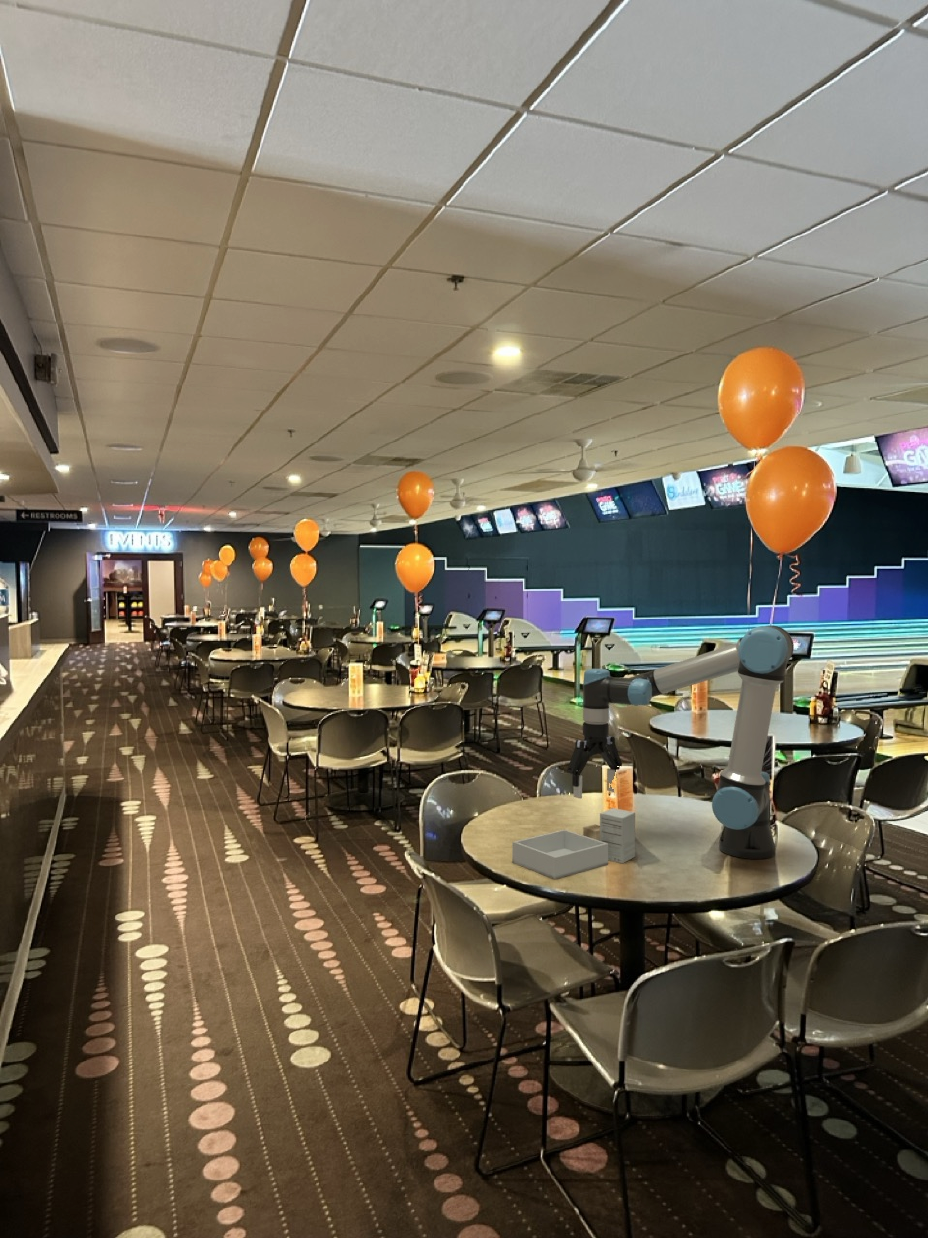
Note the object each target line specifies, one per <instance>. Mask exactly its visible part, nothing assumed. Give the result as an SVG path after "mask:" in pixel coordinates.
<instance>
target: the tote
mask: <svg viewBox="0 0 928 1238" xmlns="http://www.w3.org/2000/svg"><path fill="white" fill-rule="evenodd" d="M511 848H512V853H511V855H512V861H511V863H512V864H515V865H518V866H521V867H523V868H524V869H528V870H530V871H532V872H535V873H538V874H539V875H542V876H545V877H548V878H549V879H550V878H551V879H553V880H559V879H562V878H565V877H570V876H572V875H577V874H579V873H583V872H586V871H589V870H593V869H596V868H600V867H604V866H608V865H609V860H608V843H605V842H602V841H598V840H595V839H592V838H589V837H586V836H583V834H579V833H577V832H574V831H571V830H567V829H561V830H557V831H553V832H548V833H545V834H540V835H539V834H538V835H536V836H532V837H527V838H523V839H519V840H516V841H514V840H513V841H512V846H511Z"/></svg>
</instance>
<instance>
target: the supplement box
mask: <svg viewBox="0 0 928 1238" xmlns="http://www.w3.org/2000/svg"><path fill="white" fill-rule="evenodd" d="M599 826H600V841H602V842H605V843H608V861H611V862H613V863H614V862H615V863H618V864H624V863H626V862H628V861H630V860H631V859H634V858H635V857H636V812H635V811H630V810H625V809H620V808H615V807H614V808H613V807H612V808H610V809H607V810H605V811H602V812H600V813H599Z"/></svg>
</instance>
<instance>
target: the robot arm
mask: <svg viewBox="0 0 928 1238" xmlns="http://www.w3.org/2000/svg"><path fill="white" fill-rule="evenodd" d="M794 647H795V646H794V641H793V638H792V636H791V635H790V633H789V632H788V631H787V630H786V629H784V628H782V627H781V626H777V625H771V624H770V625H762V626H757V627H754V628H752V629H750V630H748V631H747V632H746V633H745V634H744V635H743V637H741V638H738V640H737V642H735V643H733V644H730V645H726V646H724V647H721V648H717V649H714V650H711V651H708V652H705V653H701V654H700V655H696V656H693V657H689V658H687V659H684V660H681V661H678V662H675V663H671V664H668V665H666V666H663V667H659V668H656V669H653V670H650V671H647V672H645V673H644V672H643V673H639V674H637V675H634V676H631V677H614V676H611V674H610V670H608V669H605V668H589V669H588V668H587V669H586V670H584V673H583V682H582V690H583V691H582V697H583V698H582V700H583V701H582V702H583V703H582V704H583V705H582V708H583V709H582V720H583V723H582V735H583V736H584V739H583V740H579V739H577V740H575V745H574V750H573V752H572V756H571V758H570V760H569V763H568V767H567V769H566V773H568V774H570V775H571V776H572V782H571V783H572V784H571V785H572V787H573V795H572V796H573V798H577V799H583V775H581V773H583V770H584V768H585V767H586V765H587V764H588V761H589V760H590V758H592V757H593V755H594V756H595V755H598V754H599V755H601V757H602V759H603V760H604V761H605V763H606V764H607V766H608V768H606V791H608V792H612V793H615V792H614V789H612V787H611V785H610V788H609V783H610V784H611V783H612V780H613V779H614V776H615V772H616V770H617V771H619V770H620V769H621V767H622V766H623V763H622V760H621V757H620V753H619V751H618V749H617V746H616V739H615V736H612V735H611V736H610V735H609V732H610V731H609V730H610V726H609V725H610V724H609V723H608V722H609V721H610V704H622V705H628V706H629V705H631V706H636V707H638V706H648V705H649V704H650V702H651V700H652V698H656V697H658V696H661V695H664V694H667V693H671V692H674V691H677V690H680V689H684V688H688V687H691V686H695V685H697V684H700V683H704V682H706V681H710V680H713V679H717V678H721V677H723V676H726V675H730V674H734V673H736V672H737V675H738V676H739V678H740V679H741V687H740V692H739V699H738V704H737V710H736V716H735V719H734V721H735V722H734V726H733V733H732V738H731V746H730V750H729V751H730V752H729V755H728V756H729V757H728V762H727V767H725V768H724V769H722V770H721V771H720V772H719V779H718V784H717V791H716V792H715V794H714V795H713V796H712V802H711V808H712V809H711V810H712V812H713V814H714V817H715V818H716V820H717V821H718V822H719V823H720V824H721V825H722V826H723V829H722V832H721V834H720V836H719V837H720V838H719V841H718V849H719V851H720V852H722V853H724V854H726V855H729V856H733V857H737V858H742V859H751V860H760V859H761V860H762V859H763V860H764V859H770V858H772V857H774V856H775V855H776V843H775V841H774V837H773V834H772V830H771V827H770V807H771V806H770V800H771V799H770V798H771V795H770V793H771V785H772V783H771V777H770V774H769V773H768V772H766V771H762V769H763V764H764V758H765V752H766V747H767V743H768V735H769V731H770V730H769V729H770V725H771V718H772V712H773V708H774V701H775V697H776V692H777V691H776V689H777V686H779V685H781V684H782V683H784V680H785V675H786V671H787V664H788V662H789V661H790V659H791V658H792V655H793V654H794V650H795V649H794ZM617 766H619V767H617ZM620 766H621V767H620Z"/></svg>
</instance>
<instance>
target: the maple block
mask: <svg viewBox="0 0 928 1238" xmlns="http://www.w3.org/2000/svg"><path fill="white" fill-rule="evenodd" d="M582 835H583V836H586V837H589V838H592V839H595V840H598V841H600V824H591V825H586V826H583V827H582Z"/></svg>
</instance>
